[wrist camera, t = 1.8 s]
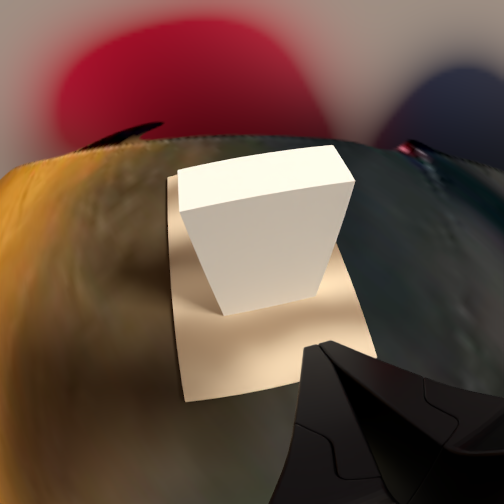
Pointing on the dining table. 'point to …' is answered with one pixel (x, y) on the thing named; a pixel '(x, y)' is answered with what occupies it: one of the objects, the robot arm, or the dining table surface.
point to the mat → (252, 325)
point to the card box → (265, 223)
